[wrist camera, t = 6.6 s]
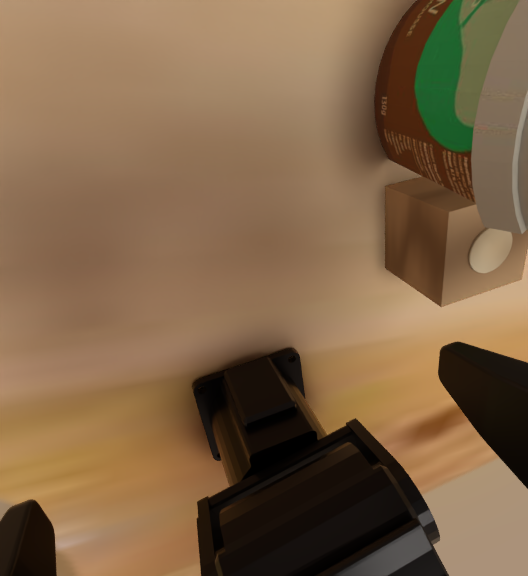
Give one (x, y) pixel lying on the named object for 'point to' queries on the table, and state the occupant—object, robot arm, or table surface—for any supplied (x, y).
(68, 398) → the table surface
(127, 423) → the table surface
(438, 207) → the dotted block
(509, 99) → the food container
